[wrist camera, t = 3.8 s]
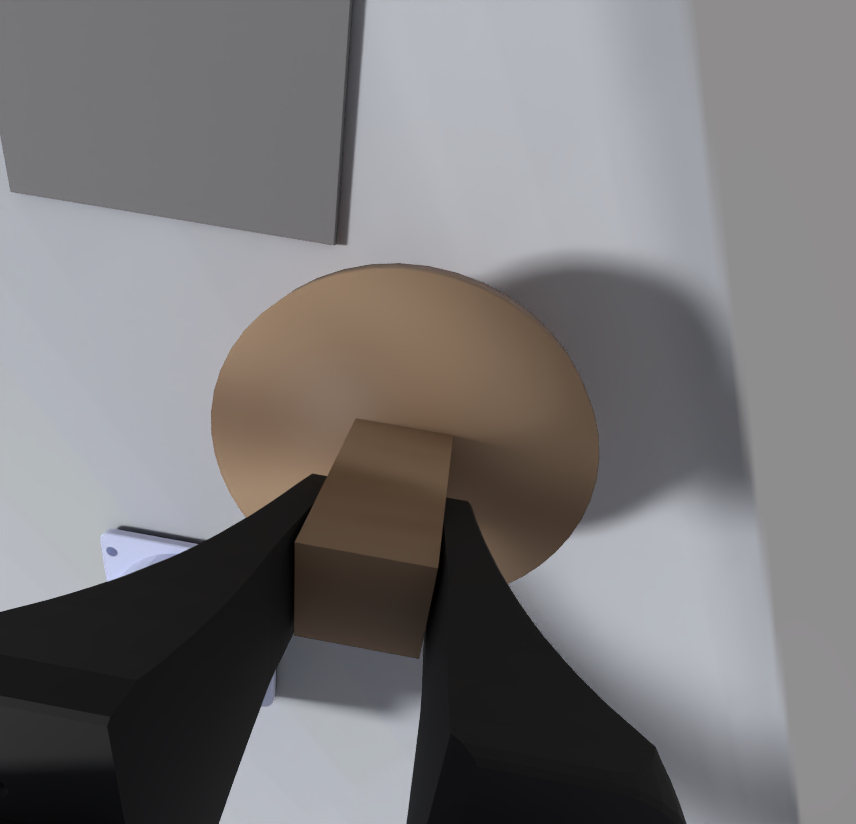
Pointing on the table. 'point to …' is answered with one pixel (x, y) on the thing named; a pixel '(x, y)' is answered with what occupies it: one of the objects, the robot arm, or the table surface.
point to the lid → (403, 439)
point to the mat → (180, 108)
